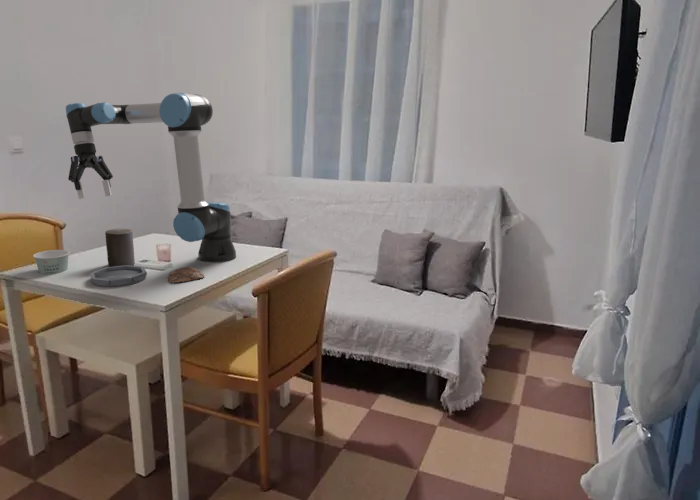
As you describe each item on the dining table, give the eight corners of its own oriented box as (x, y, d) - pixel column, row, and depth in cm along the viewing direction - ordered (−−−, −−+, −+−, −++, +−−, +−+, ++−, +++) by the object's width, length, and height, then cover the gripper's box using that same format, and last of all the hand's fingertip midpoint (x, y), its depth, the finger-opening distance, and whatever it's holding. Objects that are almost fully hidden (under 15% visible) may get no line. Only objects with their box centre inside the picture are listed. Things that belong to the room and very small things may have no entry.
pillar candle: (105, 269, 195) (102, 230, 192) (111, 262, 205) (107, 225, 201) (133, 268, 198) (130, 230, 194) (137, 261, 207) (134, 224, 203)
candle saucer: (156, 274, 190) (156, 268, 190) (123, 289, 173) (122, 282, 173) (115, 269, 195) (115, 263, 194) (79, 283, 178) (78, 277, 178)
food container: (36, 277, 185) (33, 259, 183) (34, 268, 195) (31, 252, 193) (73, 272, 191) (71, 255, 190) (69, 264, 201) (67, 248, 199)
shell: (162, 277, 188) (161, 268, 187) (196, 272, 195) (195, 262, 194) (171, 285, 179) (171, 276, 178) (207, 279, 186) (206, 270, 185)
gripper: (101, 146, 217) (112, 196, 220) (49, 145, 194) (62, 200, 197) (114, 143, 215) (125, 193, 217) (64, 141, 192) (77, 198, 194)
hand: (95, 197), depth 207 cm, fingers open, 13 cm apart
